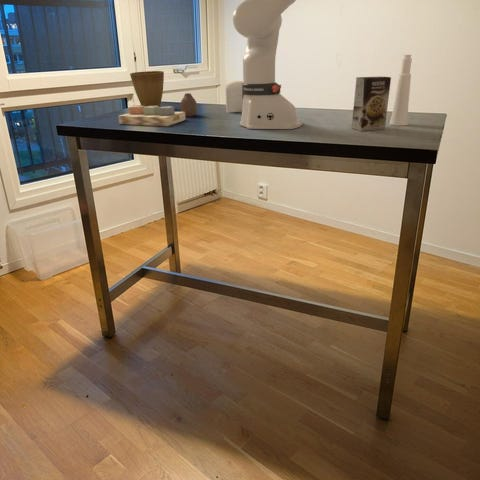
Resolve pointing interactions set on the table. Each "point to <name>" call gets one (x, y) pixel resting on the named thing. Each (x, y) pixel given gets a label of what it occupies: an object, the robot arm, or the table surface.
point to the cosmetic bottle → (402, 94)
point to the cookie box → (370, 103)
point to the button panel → (151, 119)
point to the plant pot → (148, 87)
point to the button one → (136, 109)
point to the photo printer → (234, 97)
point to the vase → (188, 105)
